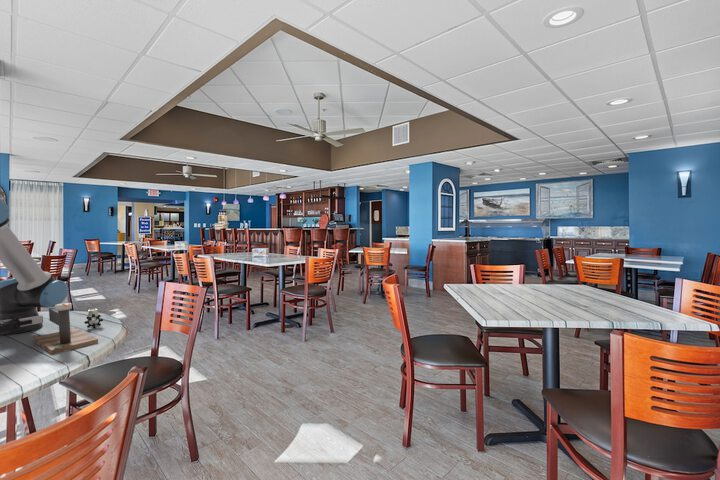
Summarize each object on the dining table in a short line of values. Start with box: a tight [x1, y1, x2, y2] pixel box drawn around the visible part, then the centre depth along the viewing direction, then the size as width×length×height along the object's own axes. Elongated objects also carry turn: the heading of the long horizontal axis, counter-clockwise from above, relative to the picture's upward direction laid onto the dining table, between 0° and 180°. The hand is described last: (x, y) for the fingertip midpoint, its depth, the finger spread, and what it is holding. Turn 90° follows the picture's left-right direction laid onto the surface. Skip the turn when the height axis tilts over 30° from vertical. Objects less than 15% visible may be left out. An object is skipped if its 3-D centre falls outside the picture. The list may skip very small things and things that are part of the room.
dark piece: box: [48, 302, 73, 343], centre depth 133 cm, size 22×5×15 cm, turn 55°
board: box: [32, 327, 99, 355], centre depth 135 cm, size 24×14×2 cm, turn 55°
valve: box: [84, 308, 104, 329], centre depth 156 cm, size 7×7×12 cm
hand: (42, 318), depth 133 cm, fingers closed
